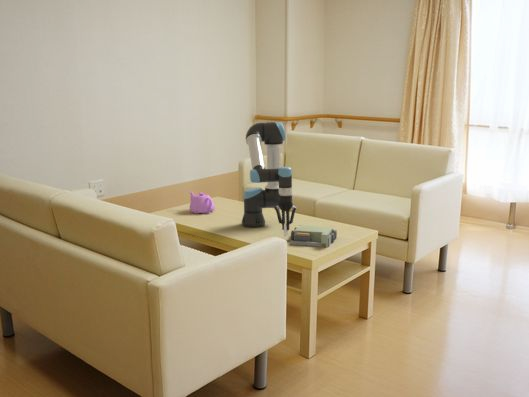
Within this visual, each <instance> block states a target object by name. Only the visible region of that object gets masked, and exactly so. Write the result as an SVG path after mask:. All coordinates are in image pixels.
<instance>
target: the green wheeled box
mask: <svg viewBox="0 0 529 397" xmlns="http://www.w3.org/2000/svg"><path fill="white" fill-rule="evenodd" d="M296 233H311V242H304V241H294V240H295V234H296ZM337 235H338V232H337V229H334V227H330V226H317V225H316V226H315V225H314V226H313V225H299V226H297V227H294V229H293V230H291V232H290V239H291V240H290V245H291V244H298V245H297V246H305V245H307V247H321V248H328V247H330V246H331V244H332V243H334V242H335V240H337Z"/></svg>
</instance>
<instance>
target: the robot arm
mask: <svg viewBox="0 0 529 397" xmlns="http://www.w3.org/2000/svg"><path fill="white" fill-rule="evenodd" d="M283 124H284V123H282V122H277V121H274V122H271V121H270V122H257V123H254V124H253V125H251V126H250V127H249V128H248V129H247V131H246V134H245V142H246V144H247V146H248V151H249V157H250V163H251V169H250V170H249V180H250V182H251V183H254V184H255V183H258V184H260V183H261V184H262V183H267V184H266V185H265V186H264V189H262V187H252V188H248V189H246V190H244V192H243V215H242V219H241V226H242V227H246V228H259V227H260V228H261V227H264V226H265V225H266V218H265V216H264V213H263V209H271V208H272V209H274V210H275V212H276V216H277V220H278V223H279V224H281V230H283V236H284V237H287V236H288V235H289V232H288V231H290V225H291V224H293V223H294V218H295V213H296V210H298V207H297V206H295V205H294V204H293V171H292V168H291V167H290V166H281V163H282V162H281V161H282V160H281V147H282V145H283V143H284V142H285V141H286V131H285V130H286V129H285V127H284V125H283ZM262 142H264V143H263V144H264V146H265V147H266V165H265V159H264V155H263V148H262ZM280 210H281V212H280ZM291 210H292V211H291ZM290 212H291V216H290Z"/></svg>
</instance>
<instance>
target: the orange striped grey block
mask: <svg viewBox="0 0 529 397" xmlns="http://www.w3.org/2000/svg"><path fill="white" fill-rule="evenodd" d="M295 241H304V242H311V233H296V234H295Z"/></svg>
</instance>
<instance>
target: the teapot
mask: <svg viewBox="0 0 529 397" xmlns="http://www.w3.org/2000/svg"><path fill="white" fill-rule="evenodd" d="M189 194H190V204H189V211H190V212H191V213H192V212H193V213H192V214H195V213H206V214H210V213H209V212H211V213H213V211H214V210H215V208H216V207H215V202H214V201H213V199H212V197H211V196H210V195H209V194H205V193H204V192H198V194H196V195H195V194H194V192H193V191H192V190H189Z"/></svg>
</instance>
